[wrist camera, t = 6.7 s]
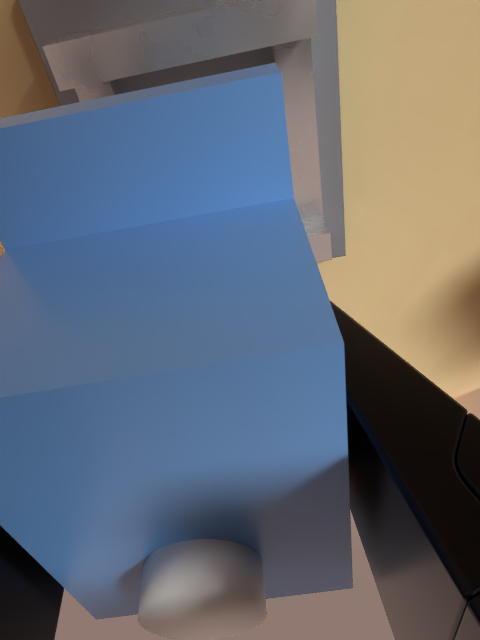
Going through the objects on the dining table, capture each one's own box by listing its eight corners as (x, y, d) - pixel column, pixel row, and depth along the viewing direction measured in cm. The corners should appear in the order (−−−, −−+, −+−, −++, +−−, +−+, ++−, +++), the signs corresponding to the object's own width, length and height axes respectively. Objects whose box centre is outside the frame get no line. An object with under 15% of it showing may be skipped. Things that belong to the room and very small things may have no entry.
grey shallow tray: (326, -89, 14) (352, -100, 11) (340, 244, 22) (359, 286, 19) (22, -17, 15) (-21, -11, 12) (138, 280, 22) (127, 326, 20)
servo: (258, 35, 7) (363, 202, 2) (300, 372, 12) (363, 665, 7) (27, 83, 8) (-342, 328, 3) (158, 394, 13) (122, 692, 8)
